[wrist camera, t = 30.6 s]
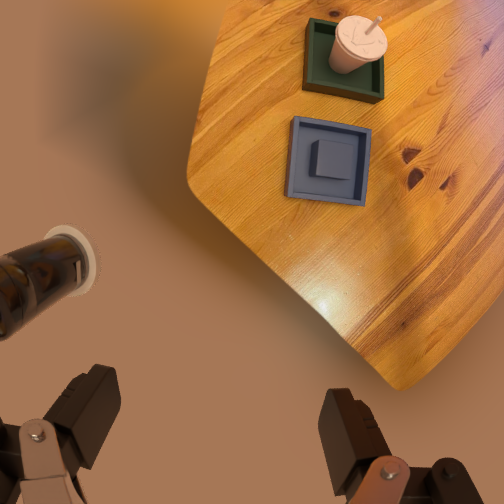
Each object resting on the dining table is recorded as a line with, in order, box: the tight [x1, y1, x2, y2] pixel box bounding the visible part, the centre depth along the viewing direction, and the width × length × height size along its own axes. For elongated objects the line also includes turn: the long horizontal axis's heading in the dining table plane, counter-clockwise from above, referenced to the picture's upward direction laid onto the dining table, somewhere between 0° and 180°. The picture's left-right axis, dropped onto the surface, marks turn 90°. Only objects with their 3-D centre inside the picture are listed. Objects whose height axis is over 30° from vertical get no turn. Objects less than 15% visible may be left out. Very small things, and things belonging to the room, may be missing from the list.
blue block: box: [309, 139, 354, 180], centre depth 36 cm, size 4×4×4 cm
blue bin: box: [284, 116, 371, 206], centre depth 37 cm, size 10×10×4 cm
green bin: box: [302, 18, 384, 104], centre depth 34 cm, size 11×11×4 cm
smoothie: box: [329, 16, 387, 74], centre depth 28 cm, size 6×6×14 cm
